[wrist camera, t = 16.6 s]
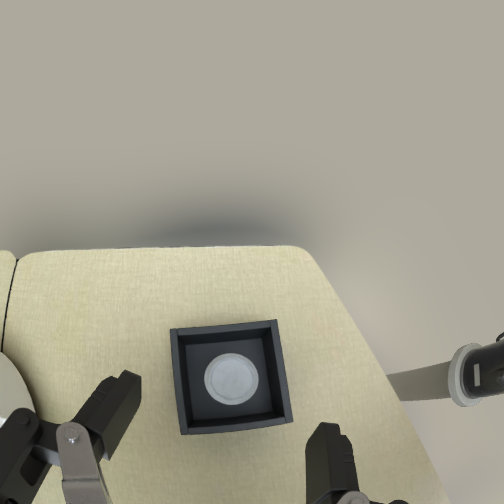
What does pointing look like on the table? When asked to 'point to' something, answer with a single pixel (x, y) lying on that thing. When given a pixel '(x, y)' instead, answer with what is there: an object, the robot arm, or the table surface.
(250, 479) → the table surface
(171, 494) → the table surface
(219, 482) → the table surface
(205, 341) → the bin
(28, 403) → the pot
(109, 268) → the table surface
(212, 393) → the beer can
